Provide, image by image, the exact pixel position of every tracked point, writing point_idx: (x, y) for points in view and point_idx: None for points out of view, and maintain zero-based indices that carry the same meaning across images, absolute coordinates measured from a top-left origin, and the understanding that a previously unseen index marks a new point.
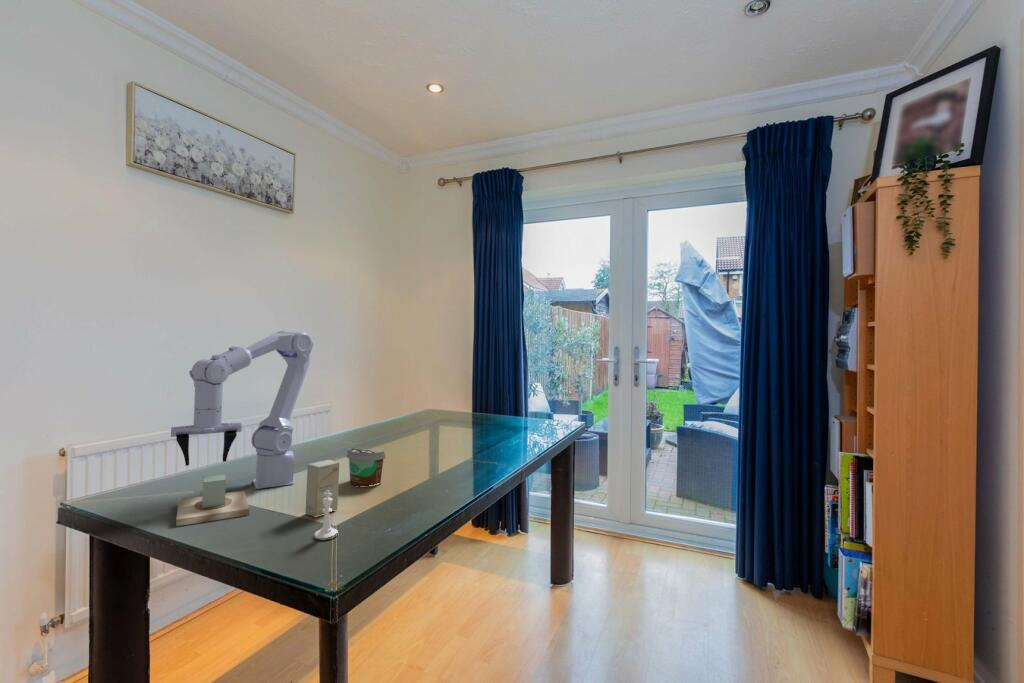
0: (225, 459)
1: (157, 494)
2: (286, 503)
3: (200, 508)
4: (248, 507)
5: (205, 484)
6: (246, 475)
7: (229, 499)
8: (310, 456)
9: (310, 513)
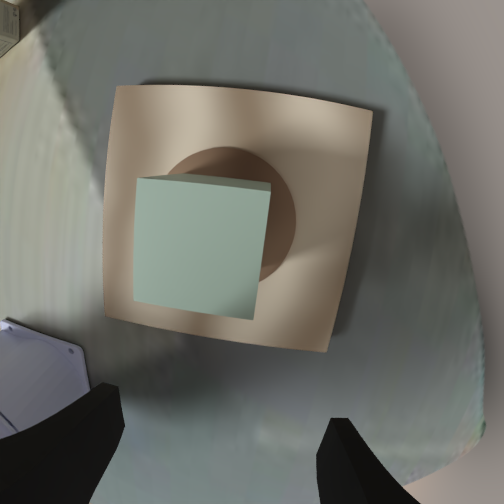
0: (97, 389)
1: None
2: (22, 152)
3: (279, 179)
4: (116, 98)
5: (258, 188)
6: (118, 462)
7: None
8: None
9: (15, 20)
